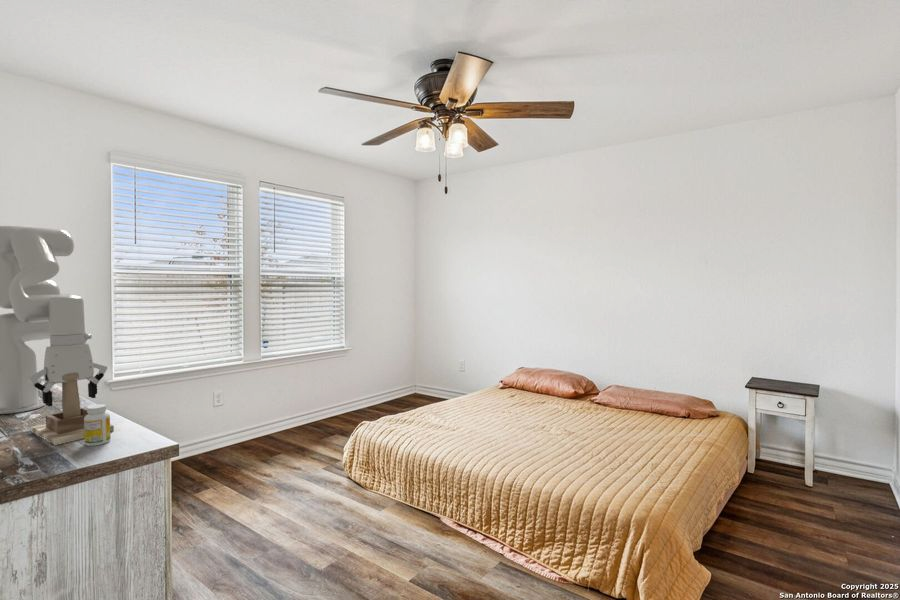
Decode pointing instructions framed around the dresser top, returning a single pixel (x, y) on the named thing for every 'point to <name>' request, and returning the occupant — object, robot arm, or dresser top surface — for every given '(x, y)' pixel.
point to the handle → (70, 396)
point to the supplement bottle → (97, 425)
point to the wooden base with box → (63, 428)
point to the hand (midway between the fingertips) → (71, 401)
